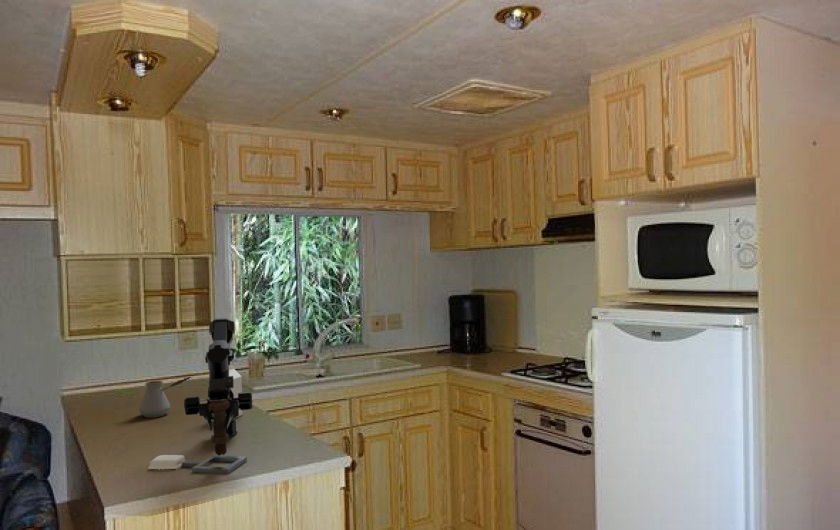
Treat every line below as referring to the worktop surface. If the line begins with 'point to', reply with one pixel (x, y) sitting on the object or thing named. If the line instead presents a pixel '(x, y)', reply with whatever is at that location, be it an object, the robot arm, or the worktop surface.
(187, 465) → the socket plate
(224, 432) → the bolt
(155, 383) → the coffee pot
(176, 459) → the soap
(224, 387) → the robot arm
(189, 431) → the worktop surface
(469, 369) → the worktop surface
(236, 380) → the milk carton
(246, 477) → the worktop surface
